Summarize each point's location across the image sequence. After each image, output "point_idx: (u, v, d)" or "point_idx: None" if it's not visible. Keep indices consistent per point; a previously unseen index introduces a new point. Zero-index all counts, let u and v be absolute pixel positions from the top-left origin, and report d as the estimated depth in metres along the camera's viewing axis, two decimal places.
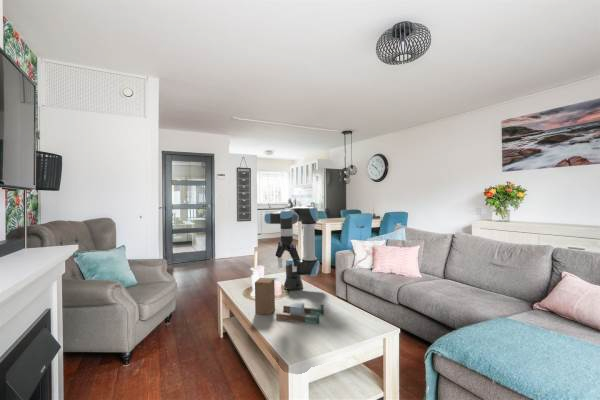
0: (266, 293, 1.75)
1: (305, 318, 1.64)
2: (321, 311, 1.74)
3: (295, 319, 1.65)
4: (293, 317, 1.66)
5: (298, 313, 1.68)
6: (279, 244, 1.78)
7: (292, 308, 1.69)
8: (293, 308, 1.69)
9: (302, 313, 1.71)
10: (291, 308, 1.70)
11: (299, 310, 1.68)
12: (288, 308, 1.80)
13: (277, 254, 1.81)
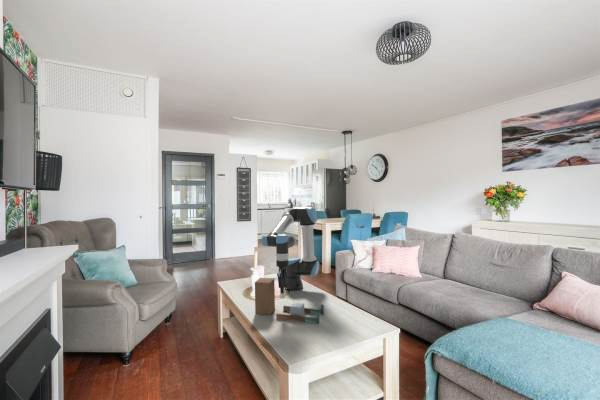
0: (266, 293, 1.75)
1: (305, 318, 1.64)
2: (321, 311, 1.74)
3: (295, 319, 1.65)
4: (293, 317, 1.66)
5: (298, 313, 1.68)
6: None
7: (292, 308, 1.69)
8: (293, 308, 1.69)
9: (302, 313, 1.71)
10: (291, 308, 1.70)
11: (299, 310, 1.68)
12: (288, 308, 1.80)
13: None
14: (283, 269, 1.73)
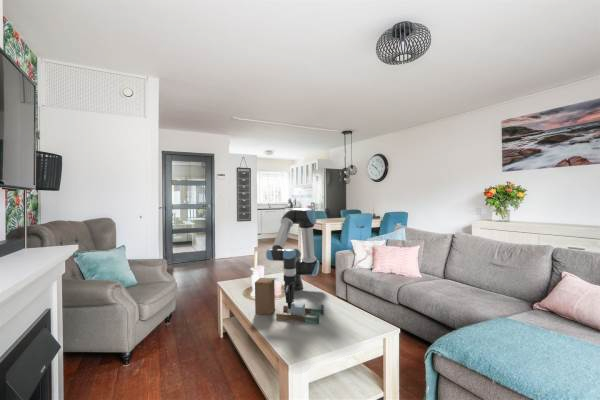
0: (266, 293, 1.75)
1: (305, 318, 1.64)
2: (321, 311, 1.74)
3: (295, 319, 1.65)
4: (293, 317, 1.66)
5: (299, 313, 1.68)
6: None
7: (293, 308, 1.69)
8: (294, 308, 1.69)
9: (303, 313, 1.71)
10: (292, 308, 1.69)
11: (300, 310, 1.68)
12: None
13: None
14: (290, 284, 1.72)
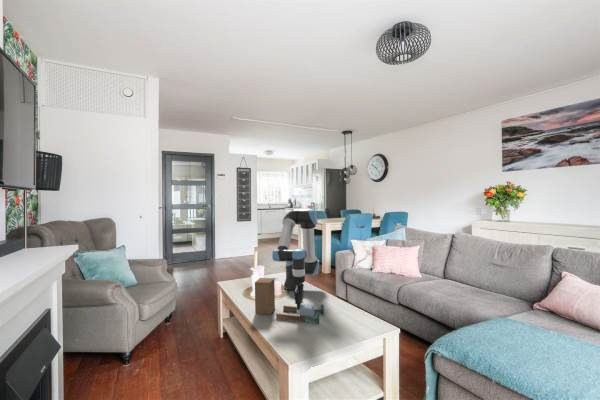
0: (266, 293, 1.75)
1: (305, 318, 1.64)
2: (321, 311, 1.74)
3: (295, 319, 1.65)
4: (293, 317, 1.66)
5: (308, 314, 1.66)
6: None
7: (302, 309, 1.67)
8: (303, 309, 1.67)
9: (312, 314, 1.69)
10: (301, 309, 1.67)
11: (309, 312, 1.66)
12: (288, 308, 1.80)
13: None
14: (299, 285, 1.70)
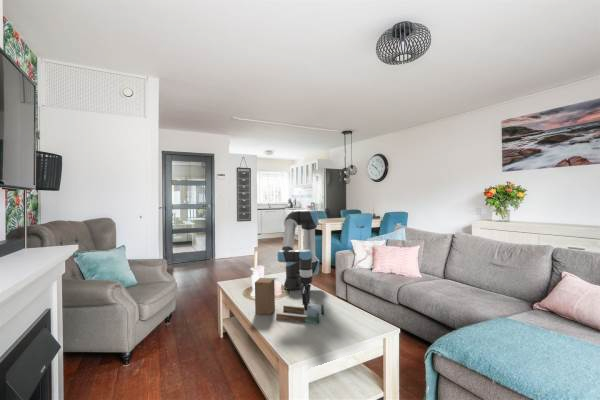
0: (266, 293, 1.75)
1: (305, 318, 1.64)
2: (321, 311, 1.74)
3: (295, 319, 1.65)
4: (293, 317, 1.66)
5: None
6: None
7: (309, 310, 1.66)
8: (311, 310, 1.66)
9: (320, 315, 1.68)
10: (308, 310, 1.66)
11: None
12: (288, 308, 1.80)
13: None
14: (307, 286, 1.69)
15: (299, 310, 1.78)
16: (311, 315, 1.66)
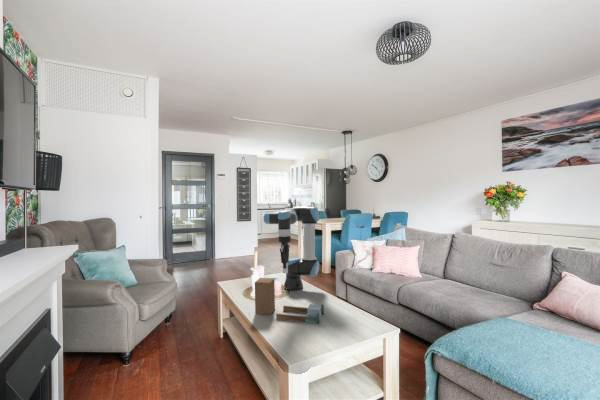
0: (266, 293, 1.75)
1: (305, 318, 1.64)
2: (321, 311, 1.74)
3: (295, 319, 1.65)
4: (293, 317, 1.66)
5: None
6: None
7: (309, 310, 1.66)
8: (311, 310, 1.66)
9: (320, 315, 1.68)
10: (308, 310, 1.66)
11: None
12: (288, 308, 1.80)
13: None
14: (285, 245, 1.76)
15: (299, 310, 1.78)
16: (311, 315, 1.66)
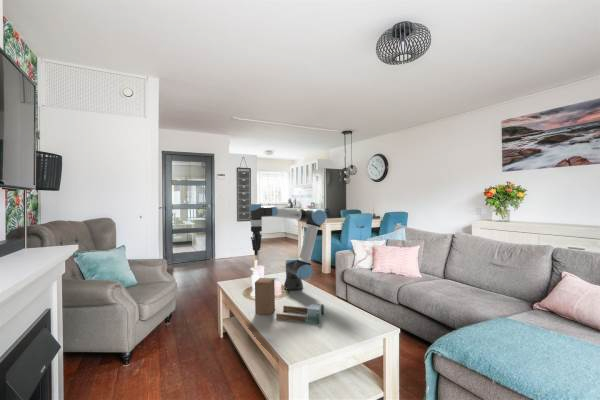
0: (266, 293, 1.75)
1: (305, 318, 1.64)
2: (321, 311, 1.74)
3: (295, 319, 1.65)
4: (293, 317, 1.66)
5: None
6: None
7: (309, 310, 1.66)
8: (311, 310, 1.66)
9: (320, 315, 1.68)
10: (308, 310, 1.66)
11: None
12: (288, 308, 1.80)
13: None
14: (257, 234, 1.95)
15: (299, 310, 1.78)
16: (311, 315, 1.66)
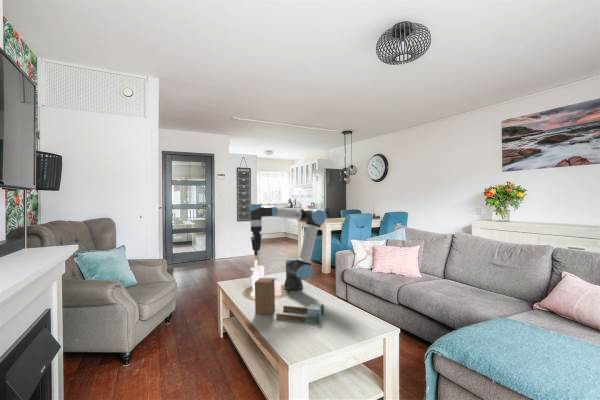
0: (266, 293, 1.75)
1: (305, 318, 1.64)
2: (321, 311, 1.74)
3: (295, 319, 1.65)
4: (293, 317, 1.66)
5: None
6: None
7: (309, 310, 1.66)
8: (311, 310, 1.66)
9: (320, 315, 1.68)
10: (308, 310, 1.66)
11: None
12: (288, 308, 1.80)
13: None
14: (256, 234, 1.95)
15: (299, 310, 1.78)
16: (311, 315, 1.66)
